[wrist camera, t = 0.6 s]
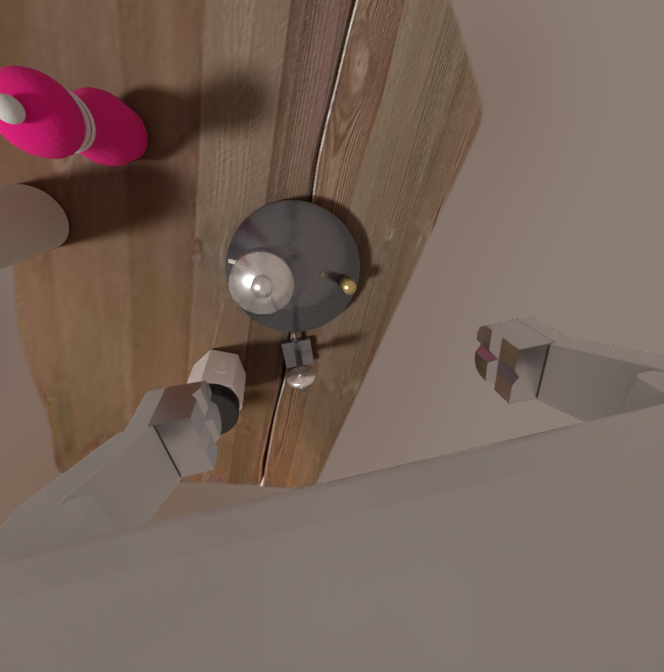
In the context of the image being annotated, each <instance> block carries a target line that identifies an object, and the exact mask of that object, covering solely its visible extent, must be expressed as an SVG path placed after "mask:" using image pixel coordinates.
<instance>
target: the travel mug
mask: <svg viewBox="0 0 664 672" xmlns="http://www.w3.org/2000/svg"><path fill="white" fill-rule="evenodd" d="M68 234H69V223H68V219H67V216H66V214H65V212H64V210H63V209H62V207H61V206H60V205H59V204H58V203H57V202H56V201H55V200H54V199H53V198H52V197H51V196H50V195H48V194H47V193H45V192H43V191H42V190H40V189H38V188H35V187H32V186H28V185H22V184H16V185H3V186H0V269H2V268H5V267H8V266H10V265H13V264H15V263H18V262H21V261H23V260H26V259H28V258H31V257H33V256H36V255H38V254H41V253H44V252H46V251H49V250H51V249H54V248H56V247H58V246H60V245H61V244H63V243H64V242H65V240H66V239H67V237H68Z"/></svg>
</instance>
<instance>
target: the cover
mask: <svg viewBox="0 0 664 672" xmlns="http://www.w3.org/2000/svg"><path fill="white" fill-rule="evenodd" d="M229 289H230V292H231V295H232V297H233V299H234V300H235V301H236V302H237V304H238V305H240V306H241V307H242V308H243V309H245V310H247V311H249V312H252V313H256V314H270V313H273V312H276V311H278V310H280V309H281V308H283V307H284V306H285V305H286V304H287V303H288V302H289V300H290V299H291V297H292V294H293V291H294V279H293V275H292V270H291V268H290V265H289V264H288V262H287V261H286V259H285V258H284V257H283V256H282V255H280V254H279V253H277V252H276V251H273V250H271V249H267V248H254V249H250V250H247V251H246V252H244V253H242V254H241V255H240V256H239V257H238V258H237V259H236V260H235V262H234V264H233V266H232V269H231V272H230V276H229Z"/></svg>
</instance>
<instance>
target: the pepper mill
mask: <svg viewBox="0 0 664 672" xmlns="http://www.w3.org/2000/svg"><path fill="white" fill-rule="evenodd" d="M0 133H1V135H2V136H4V137H5V138H6V139H7V140H8V141H9V142H10V143H12V144H13V145H15V146H16V147H18V148H20V149H21V150H23V151H25V152H27V153H30V154H32V155H35V156H39V157H43V158H49V159H60V158H65V157H67V156H70V155H73V154H74V153H81V154H82V155H83V156H85V157H86V158H88V159H90V160H92V161H94V162H96V163H99V164H102V165H107V166H122V165H125V164H127V163H129V162H131V161H134V160H137V159H138V158H140V157H141V156H142V155H143V154H144V152H145V150H146V148H147V143H148V137H147V132H146V129H145V126H144V124H143V122H142V120H141V119H140V117H139V116H138V115H137V114H136V113H135V112H134V111H133V110H132V109H131V108H129V107H128V106H127V105H125V104H124V103H123V102H122V101H121V100H120V99H119V98H117V97H116V96H114V95H112V94H111V93H109V92H106V91H104V90H101V89H96V88H90V87H87V88H80V89H77V90H74V91H72V92H71V91H69V90H67V89H65V88H64V87H63V86H62V85H61V84H59V83H58V82H57V81H55V80H54V79H52V78H51V77H49V76H48V75H46V74H44V73H42V72H40V71H38V70H35V69H31V68H27V67H22V66H5V67H2V68H0Z"/></svg>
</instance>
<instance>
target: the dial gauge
mask: <svg viewBox="0 0 664 672" xmlns="http://www.w3.org/2000/svg"><path fill="white" fill-rule="evenodd" d="M292 335H293V339H290V340H285V341H281V345H282V349H283V354H284V358H285V363H286V367H287V368H290V367H295V366H296V368H294V369H292V370H290V371H289V372H288V374H287V376H286V377H287V382H288V384H289V385H290V386H292V387H295V388H299V390H300V391H302V392H304V391H306V390H307V386H309V385H310V384H312V383H313V382H314V381H315V379H316V374H315V370H314V369H313V368H311V367H309V366H304V365H306V364H311V363H314V360H313V354H312V348H311V342H310V337H309V336H306V337H301V338H297V337H296V332H292Z"/></svg>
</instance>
